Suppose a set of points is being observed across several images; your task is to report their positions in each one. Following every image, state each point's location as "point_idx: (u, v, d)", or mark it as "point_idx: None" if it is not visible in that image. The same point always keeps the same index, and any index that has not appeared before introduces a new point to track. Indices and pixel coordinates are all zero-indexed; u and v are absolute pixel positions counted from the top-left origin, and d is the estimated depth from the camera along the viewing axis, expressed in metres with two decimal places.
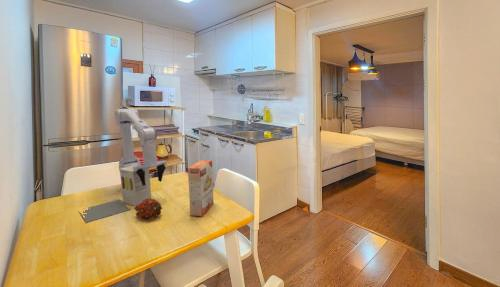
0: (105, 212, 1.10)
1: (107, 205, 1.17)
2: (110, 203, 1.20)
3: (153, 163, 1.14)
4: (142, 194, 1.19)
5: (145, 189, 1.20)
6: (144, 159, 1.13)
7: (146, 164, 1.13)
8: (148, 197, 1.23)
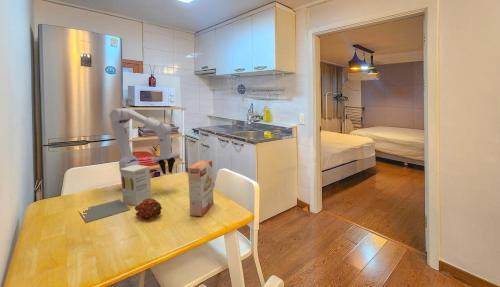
0: (105, 212, 1.10)
1: (107, 205, 1.17)
2: (110, 203, 1.20)
3: (168, 155, 1.28)
4: (143, 194, 1.19)
5: (145, 189, 1.21)
6: (161, 151, 1.27)
7: (162, 156, 1.27)
8: (148, 197, 1.23)
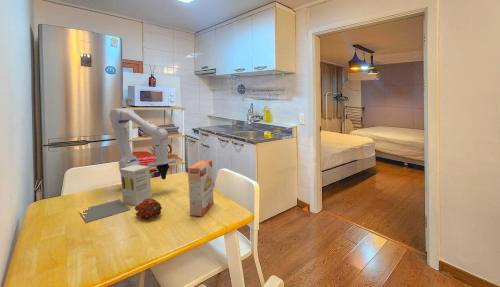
0: (105, 212, 1.10)
1: (107, 205, 1.17)
2: (110, 203, 1.20)
3: (165, 161, 1.27)
4: (143, 194, 1.19)
5: (145, 189, 1.21)
6: (157, 157, 1.26)
7: (159, 162, 1.26)
8: (148, 197, 1.23)
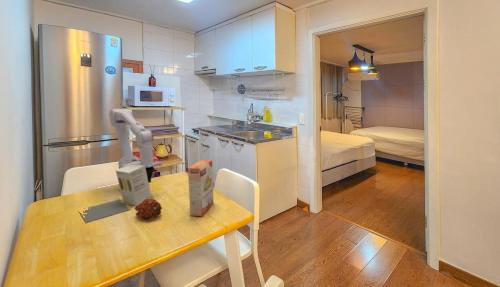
0: (105, 212, 1.10)
1: (107, 205, 1.17)
2: (110, 203, 1.20)
3: (150, 163, 1.22)
4: (141, 193, 1.19)
5: (143, 188, 1.20)
6: (141, 160, 1.21)
7: (143, 164, 1.21)
8: (148, 195, 1.22)
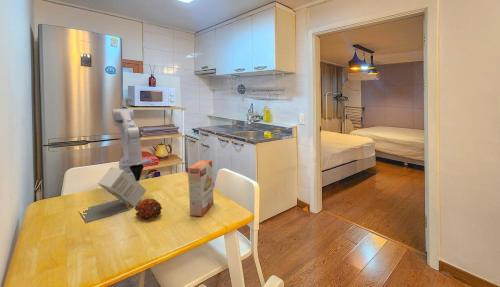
0: (105, 212, 1.10)
1: (107, 205, 1.17)
2: (110, 203, 1.20)
3: (138, 161, 1.18)
4: (134, 194, 1.15)
5: (134, 189, 1.15)
6: (129, 157, 1.17)
7: (131, 162, 1.17)
8: (142, 191, 1.19)
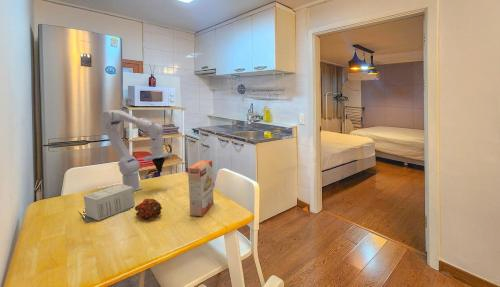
0: None
1: None
2: None
3: (160, 154, 1.30)
4: (125, 200, 1.12)
5: (121, 198, 1.10)
6: (153, 151, 1.29)
7: (154, 155, 1.29)
8: (130, 192, 1.14)
